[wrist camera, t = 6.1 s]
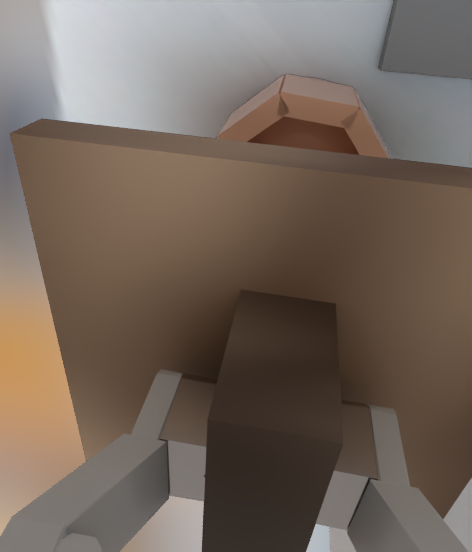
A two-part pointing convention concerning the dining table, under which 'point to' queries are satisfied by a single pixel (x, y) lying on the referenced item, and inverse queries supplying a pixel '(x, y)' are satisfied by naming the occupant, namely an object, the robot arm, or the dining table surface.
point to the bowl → (306, 118)
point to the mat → (429, 38)
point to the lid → (258, 306)
